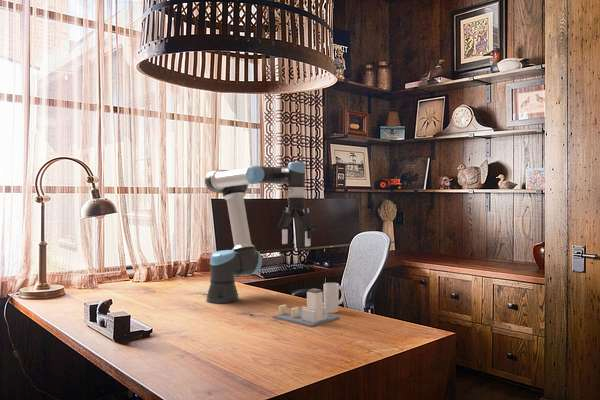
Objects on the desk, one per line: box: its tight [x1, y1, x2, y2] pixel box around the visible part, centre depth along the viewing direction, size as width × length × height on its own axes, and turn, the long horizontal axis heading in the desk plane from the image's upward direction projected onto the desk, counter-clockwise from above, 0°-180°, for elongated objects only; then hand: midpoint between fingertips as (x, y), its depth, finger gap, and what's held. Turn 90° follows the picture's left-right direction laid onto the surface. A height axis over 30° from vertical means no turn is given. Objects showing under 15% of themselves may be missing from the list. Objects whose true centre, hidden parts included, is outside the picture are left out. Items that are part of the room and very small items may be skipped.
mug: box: [323, 282, 345, 314], centre depth 217 cm, size 10×7×12 cm, turn 116°
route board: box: [271, 304, 340, 328], centre depth 204 cm, size 21×18×5 cm
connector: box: [306, 288, 324, 321], centre depth 198 cm, size 4×4×12 cm
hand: (296, 245), depth 218 cm, fingers open, 13 cm apart
